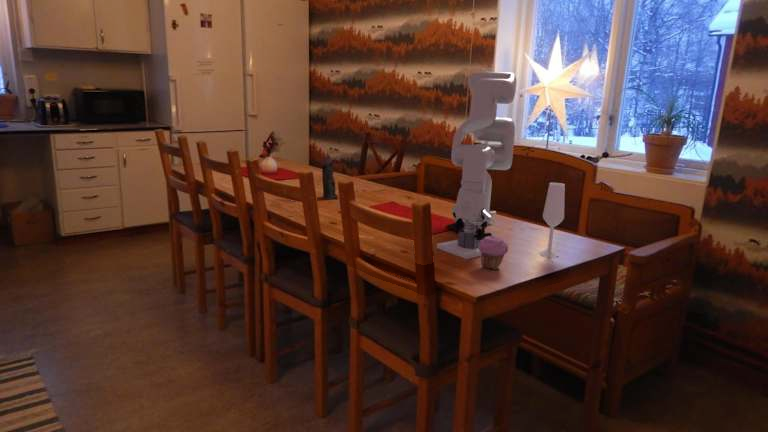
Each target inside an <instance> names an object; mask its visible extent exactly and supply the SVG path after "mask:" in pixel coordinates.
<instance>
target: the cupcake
mask: <svg viewBox="0 0 768 432" xmlns="http://www.w3.org/2000/svg"><path fill="white" fill-rule="evenodd" d="M478 249H479V251H480V252H481V255H482V256H480V258H481V259H480V263H481V264H480V265H481V267H482V268H484V269H489V270H493V271H497V270H498V268H499V267H500V266H501V264H502V262H503V260H504V256H505V255H506V254H507V253H508V251H509V246H508V243H507V241H506V240H505V239H504V238H502V237H500V236H497V235H492V236H487V237H485V238H484V239H482V240H481V241H480V242H479V245H478Z"/></svg>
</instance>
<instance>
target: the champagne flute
mask: <svg viewBox="0 0 768 432" xmlns="http://www.w3.org/2000/svg"><path fill="white" fill-rule="evenodd" d="M565 186H566V185H565V183H560V182H549V185H548V189H547V193H546V194H547V195H546V199H545V204H544V209H543V213H542V218H543V221H545V222H546V224H547V226H549V227H550V229H549V235H548V236H549V237H548V245H547V249H544V250H541V251H540V252H538V254H539V256H541V255H542V256H541V257H544V256H545V257H544V258H550V257H555V258H557V257H556V256H558V255H559V254H558V253H557V252H556V251H554V250H553V249H552V247H553V240H554V239H553V238H554V231H555V229H554V228H555V227H557V226H558V225H560V224H561V223H562V222H563V220H564V219H565V195H566V194H565V193H566V191H565V190H566V187H565Z"/></svg>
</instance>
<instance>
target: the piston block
mask: <svg viewBox="0 0 768 432" xmlns="http://www.w3.org/2000/svg"><path fill="white" fill-rule="evenodd" d="M476 226H477V225H476V223H475V222H471V221H466V222H465V223H464V225H463V228H464V232H465V233H475V229H477V228H476ZM436 248H437V250H441V251H443V252H446V253H448V254H451V255H454V256H457V257H460V258H463V259H465V260H470V259H473V258H477V257H482V255H481V252H480V251H479V249H478V248H475V249H468V248H462V247H459V246H458V239H454V240H447V241H444V242H439V243H436Z"/></svg>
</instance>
